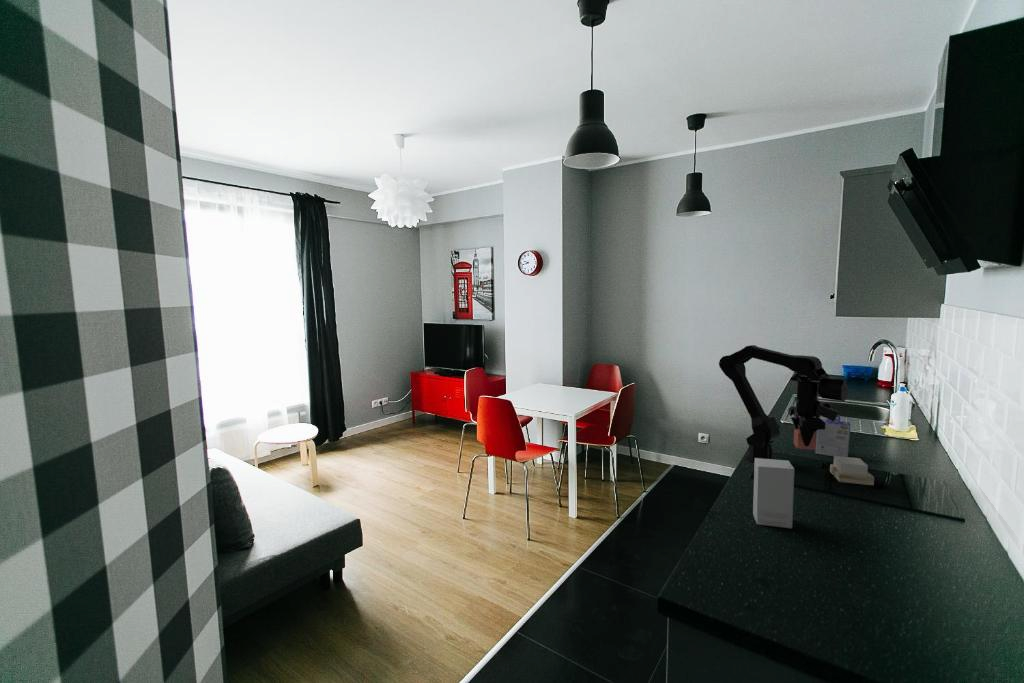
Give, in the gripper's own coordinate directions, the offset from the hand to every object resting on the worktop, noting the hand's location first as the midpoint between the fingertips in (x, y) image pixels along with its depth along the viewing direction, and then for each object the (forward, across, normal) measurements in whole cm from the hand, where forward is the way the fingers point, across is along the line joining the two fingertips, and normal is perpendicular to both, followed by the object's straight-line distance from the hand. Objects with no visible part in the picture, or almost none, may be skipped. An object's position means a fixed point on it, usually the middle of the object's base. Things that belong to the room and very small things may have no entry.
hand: (804, 443), depth 152 cm
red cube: (+1, 0, 0) cm, 1 cm away
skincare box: (+10, -40, +16) cm, 44 cm away
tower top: (+7, 0, -13) cm, 15 cm away
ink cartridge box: (+10, +24, -15) cm, 30 cm away
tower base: (+10, 0, -13) cm, 17 cm away
